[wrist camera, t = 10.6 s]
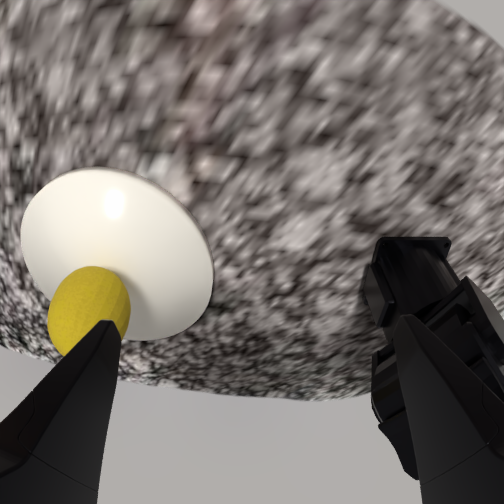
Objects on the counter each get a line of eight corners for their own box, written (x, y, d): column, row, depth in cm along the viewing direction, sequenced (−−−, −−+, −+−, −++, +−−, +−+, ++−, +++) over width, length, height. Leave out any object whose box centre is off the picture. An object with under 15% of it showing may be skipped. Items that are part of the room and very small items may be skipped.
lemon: (139, 307, 24) (113, 394, 18) (76, 289, 23) (39, 368, 17) (146, 255, 21) (111, 350, 15) (74, 235, 20) (22, 318, 14)
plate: (203, 156, 18) (200, 163, 17) (222, 332, 28) (221, 343, 27) (3, 180, 18) (-5, 188, 17) (67, 325, 28) (63, 333, 27)
